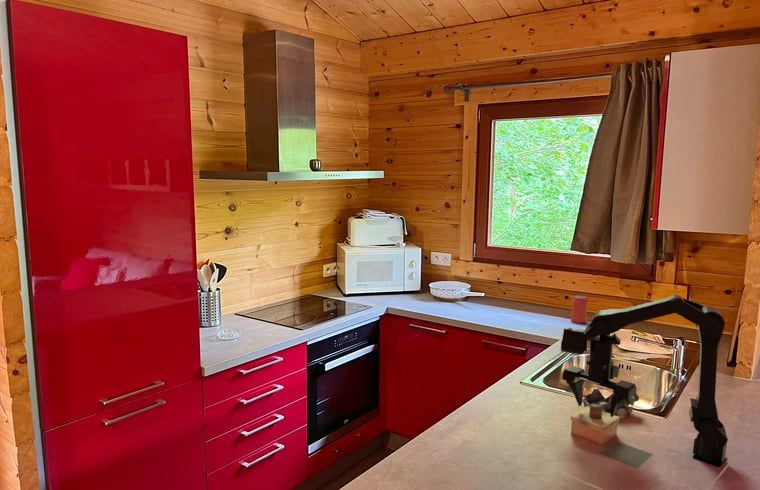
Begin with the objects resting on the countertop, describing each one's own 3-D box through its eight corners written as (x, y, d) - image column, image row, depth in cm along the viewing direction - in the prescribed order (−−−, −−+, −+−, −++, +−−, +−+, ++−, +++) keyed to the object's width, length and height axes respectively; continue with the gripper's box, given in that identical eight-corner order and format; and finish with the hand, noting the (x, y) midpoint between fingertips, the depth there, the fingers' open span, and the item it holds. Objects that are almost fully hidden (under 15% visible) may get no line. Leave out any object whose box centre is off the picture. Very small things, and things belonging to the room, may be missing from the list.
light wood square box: (616, 436, 162) (617, 420, 162) (602, 447, 156) (603, 431, 155) (585, 425, 169) (586, 410, 168) (570, 435, 162) (571, 420, 162)
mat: (652, 455, 152) (652, 454, 152) (637, 469, 145) (637, 468, 145) (614, 441, 159) (614, 440, 159) (598, 454, 152) (598, 453, 152)
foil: (581, 391, 185) (626, 373, 178) (598, 422, 183) (644, 406, 177) (575, 403, 174) (623, 385, 168) (594, 437, 173) (643, 419, 167)
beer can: (587, 324, 269) (589, 298, 267) (573, 323, 269) (575, 298, 267) (582, 320, 276) (584, 295, 274) (568, 319, 276) (570, 294, 274)
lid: (619, 421, 162) (620, 406, 161) (604, 432, 155) (605, 417, 154) (586, 409, 168) (587, 396, 168) (570, 420, 162) (571, 405, 161)
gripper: (647, 359, 158) (641, 413, 160) (581, 342, 171) (577, 392, 173) (630, 369, 150) (624, 426, 153) (563, 350, 163) (559, 403, 166)
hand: (595, 411), depth 161 cm, fingers open, 9 cm apart
